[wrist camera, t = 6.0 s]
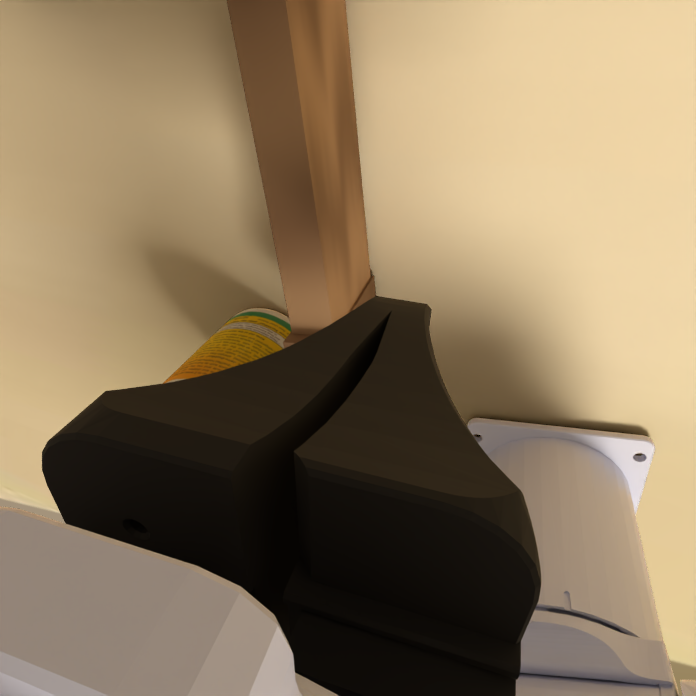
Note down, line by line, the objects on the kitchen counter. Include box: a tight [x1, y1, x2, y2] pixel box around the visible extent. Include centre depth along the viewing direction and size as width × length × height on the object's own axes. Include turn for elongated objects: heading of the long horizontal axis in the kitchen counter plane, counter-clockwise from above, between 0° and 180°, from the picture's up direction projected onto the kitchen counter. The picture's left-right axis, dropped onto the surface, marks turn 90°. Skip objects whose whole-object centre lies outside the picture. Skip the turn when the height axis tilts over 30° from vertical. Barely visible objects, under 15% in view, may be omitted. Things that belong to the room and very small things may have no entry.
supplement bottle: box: [164, 308, 292, 383], centre depth 22 cm, size 5×5×10 cm
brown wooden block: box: [227, 0, 376, 348], centre depth 17 cm, size 12×2×6 cm, turn 7°
